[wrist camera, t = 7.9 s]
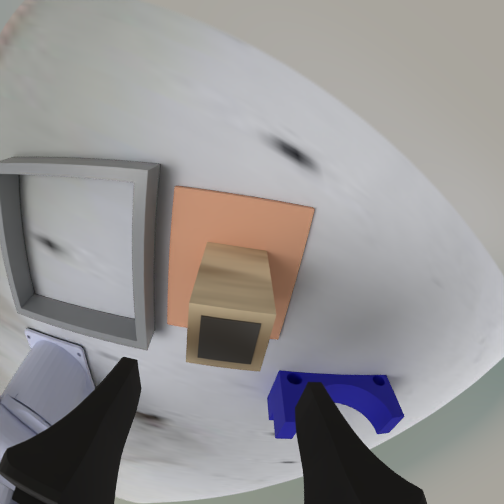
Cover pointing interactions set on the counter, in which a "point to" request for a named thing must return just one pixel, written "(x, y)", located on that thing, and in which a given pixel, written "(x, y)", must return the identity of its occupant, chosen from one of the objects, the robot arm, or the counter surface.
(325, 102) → the counter surface
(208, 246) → the part block
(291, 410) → the cable clip
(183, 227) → the place mat
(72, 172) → the parts tray
